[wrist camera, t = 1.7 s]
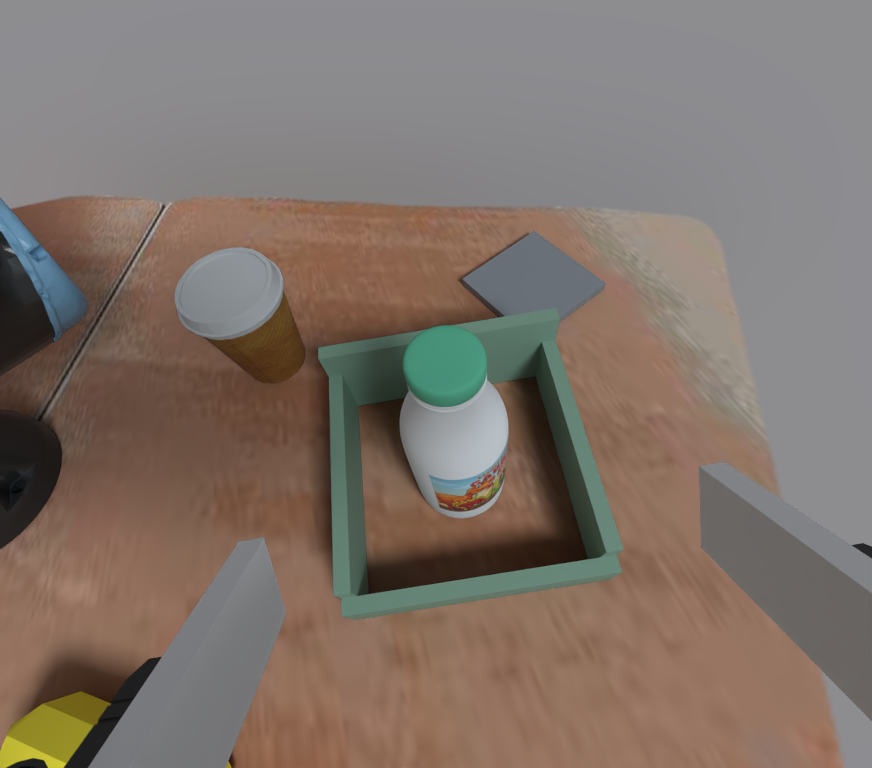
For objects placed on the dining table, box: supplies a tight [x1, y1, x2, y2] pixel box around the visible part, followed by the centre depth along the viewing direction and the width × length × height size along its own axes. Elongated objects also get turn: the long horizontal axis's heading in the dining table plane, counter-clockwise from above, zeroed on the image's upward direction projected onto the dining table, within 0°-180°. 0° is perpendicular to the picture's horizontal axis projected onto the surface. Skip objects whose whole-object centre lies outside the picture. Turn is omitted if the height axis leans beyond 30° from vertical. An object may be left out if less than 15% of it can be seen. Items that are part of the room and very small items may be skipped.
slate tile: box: [462, 231, 606, 322], centre depth 52 cm, size 11×11×1 cm
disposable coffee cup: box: [174, 248, 305, 383], centre depth 45 cm, size 10×10×12 cm
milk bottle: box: [399, 325, 508, 518], centre depth 33 cm, size 8×8×20 cm
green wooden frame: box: [318, 308, 623, 620], centre depth 38 cm, size 20×20×9 cm
